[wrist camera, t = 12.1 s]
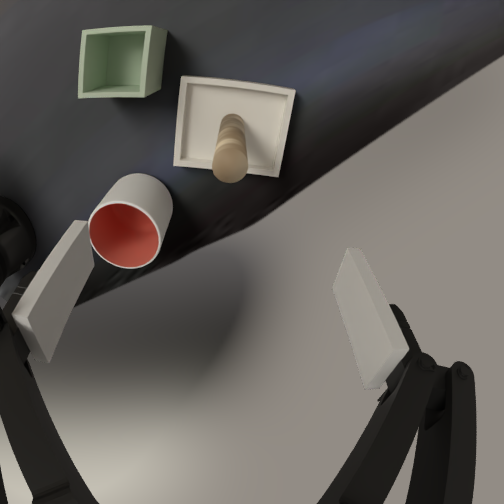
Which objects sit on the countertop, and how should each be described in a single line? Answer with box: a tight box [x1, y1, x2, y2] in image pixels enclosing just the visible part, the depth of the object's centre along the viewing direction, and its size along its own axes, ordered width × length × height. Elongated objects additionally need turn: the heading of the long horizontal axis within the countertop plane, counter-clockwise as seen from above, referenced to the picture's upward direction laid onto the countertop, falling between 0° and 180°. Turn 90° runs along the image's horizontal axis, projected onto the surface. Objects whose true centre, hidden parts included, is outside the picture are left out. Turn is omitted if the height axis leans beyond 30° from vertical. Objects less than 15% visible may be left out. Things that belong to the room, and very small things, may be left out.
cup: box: [88, 173, 173, 269], centre depth 42 cm, size 10×10×10 cm
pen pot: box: [78, 26, 168, 98], centre depth 30 cm, size 8×8×8 cm
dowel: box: [212, 114, 248, 183], centre depth 32 cm, size 3×3×16 cm
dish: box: [174, 75, 296, 177], centre depth 39 cm, size 14×12×2 cm
